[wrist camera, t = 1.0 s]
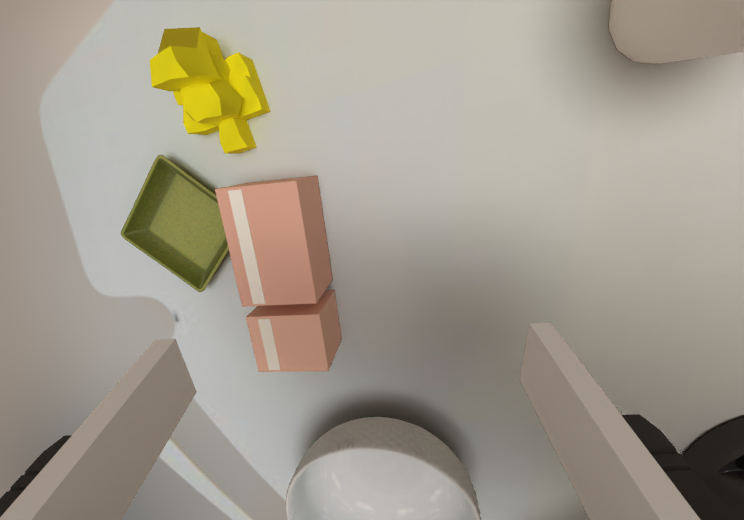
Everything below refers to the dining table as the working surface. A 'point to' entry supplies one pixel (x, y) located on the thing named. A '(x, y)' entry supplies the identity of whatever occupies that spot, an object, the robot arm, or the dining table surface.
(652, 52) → the foam cup
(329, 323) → the pink box
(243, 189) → the pink striped box
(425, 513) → the cereal bowl
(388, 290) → the dining table surface
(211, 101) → the yellow faceted figurine
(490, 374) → the dining table surface
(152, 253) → the green square tray
